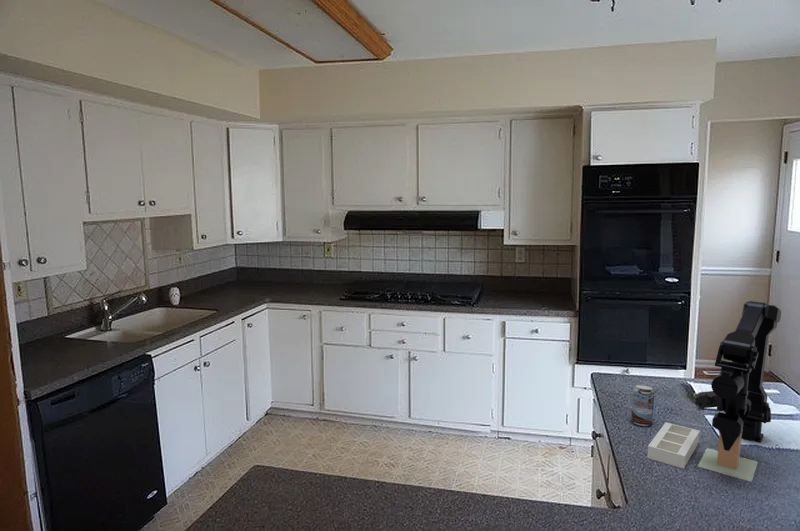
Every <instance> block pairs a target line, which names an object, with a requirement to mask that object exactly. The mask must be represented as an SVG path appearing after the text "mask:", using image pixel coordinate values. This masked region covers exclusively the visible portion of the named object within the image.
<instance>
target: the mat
mask: <svg viewBox="0 0 800 531" xmlns="http://www.w3.org/2000/svg"><path fill="white" fill-rule="evenodd" d="M717 458H718V450H716V449H713V448H708V447H707V448H706V449H705V451H704V453H703V455H702V457H701V458H700V461H699V463H698V464H697V467H698V468H702V469H706V470H709V471H711V472H715V473H719V474H723V475H726V476H729V477H732V478H736V479H740V480H744V481H748V482H750V483H752V482H753V478H754V476H755V472H756V469H757V467H758V464H759V461H756V460H753V459H749V458H745V457H742V456H740V459H739V465H738V467H737V470H735V469H731V468H728V467H724V466H721V465H717Z"/></svg>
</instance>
